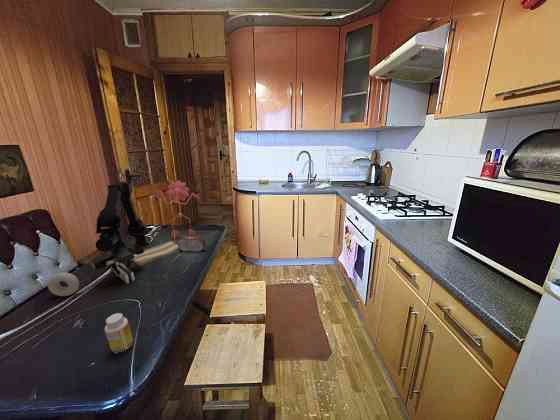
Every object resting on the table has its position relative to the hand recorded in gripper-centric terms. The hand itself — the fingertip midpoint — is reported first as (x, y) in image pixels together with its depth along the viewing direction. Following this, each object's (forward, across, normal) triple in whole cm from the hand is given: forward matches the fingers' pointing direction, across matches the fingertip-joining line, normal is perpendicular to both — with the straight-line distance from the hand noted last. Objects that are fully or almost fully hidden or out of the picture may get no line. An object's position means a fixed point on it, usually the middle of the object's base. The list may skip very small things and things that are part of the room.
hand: (123, 273), depth 105 cm
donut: (+2, -19, +3) cm, 19 cm away
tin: (+2, +32, -4) cm, 32 cm away
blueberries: (+2, -20, -21) cm, 29 cm away
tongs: (+1, 0, +1) cm, 2 cm away
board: (+1, +19, +9) cm, 21 cm away
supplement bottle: (+2, -15, -42) cm, 45 cm away
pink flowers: (+1, +41, +18) cm, 45 cm away
